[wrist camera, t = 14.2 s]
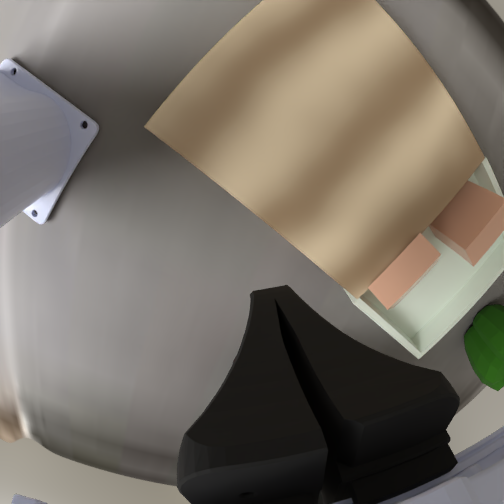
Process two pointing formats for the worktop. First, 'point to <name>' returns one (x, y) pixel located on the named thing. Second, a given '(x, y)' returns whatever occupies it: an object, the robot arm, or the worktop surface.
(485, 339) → the bell pepper
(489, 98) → the worktop surface
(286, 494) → the robot arm
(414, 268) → the tile
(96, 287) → the worktop surface
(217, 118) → the board
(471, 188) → the tile
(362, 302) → the tray
